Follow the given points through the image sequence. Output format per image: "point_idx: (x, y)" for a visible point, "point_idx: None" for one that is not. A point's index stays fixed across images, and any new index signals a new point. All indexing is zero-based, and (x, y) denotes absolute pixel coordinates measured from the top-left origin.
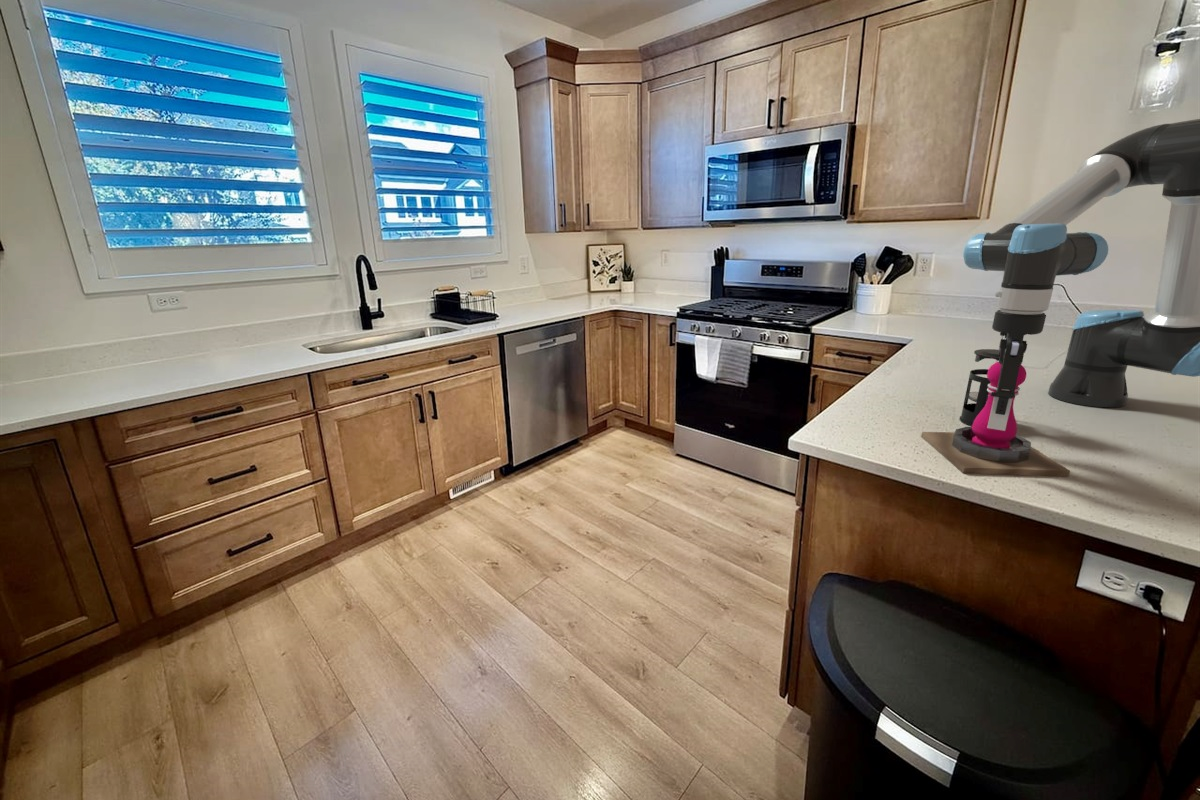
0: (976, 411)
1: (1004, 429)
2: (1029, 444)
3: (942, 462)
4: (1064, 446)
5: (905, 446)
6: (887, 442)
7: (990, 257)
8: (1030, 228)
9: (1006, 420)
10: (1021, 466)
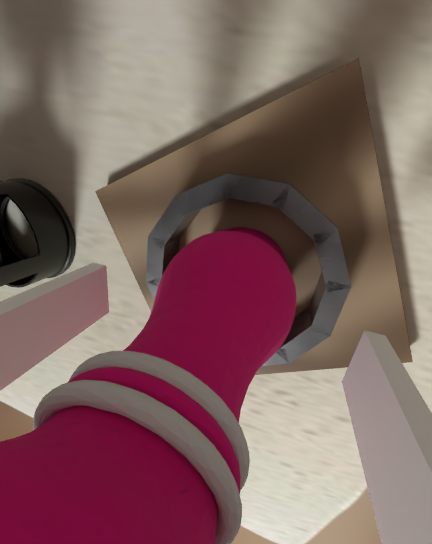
0: (33, 270)
1: (385, 341)
2: (253, 182)
3: (337, 372)
4: (88, 46)
5: (259, 412)
6: (249, 435)
7: None
8: None
9: (406, 377)
10: (361, 214)
